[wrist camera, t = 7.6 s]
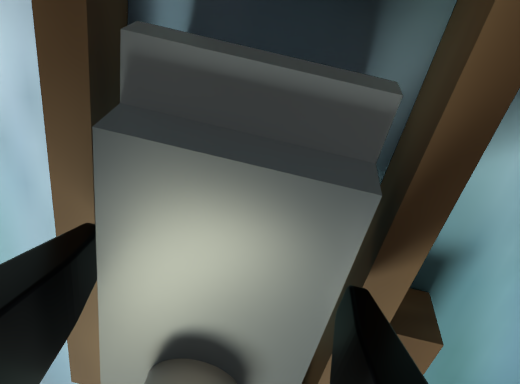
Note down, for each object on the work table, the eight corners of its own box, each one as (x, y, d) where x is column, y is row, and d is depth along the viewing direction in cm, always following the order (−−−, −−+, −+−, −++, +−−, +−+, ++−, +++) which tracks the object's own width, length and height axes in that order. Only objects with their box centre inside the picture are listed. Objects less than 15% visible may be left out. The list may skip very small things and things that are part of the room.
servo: (377, 37, 9) (430, 159, 4) (281, 321, 14) (258, 519, 9) (191, -7, 9) (42, 68, 4) (163, 293, 14) (81, 475, 9)
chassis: (635, -54, 7) (715, -49, 6) (364, 401, 15) (368, 453, 14) (74, -182, 7) (9, -208, 6) (96, 336, 15) (71, 381, 14)
